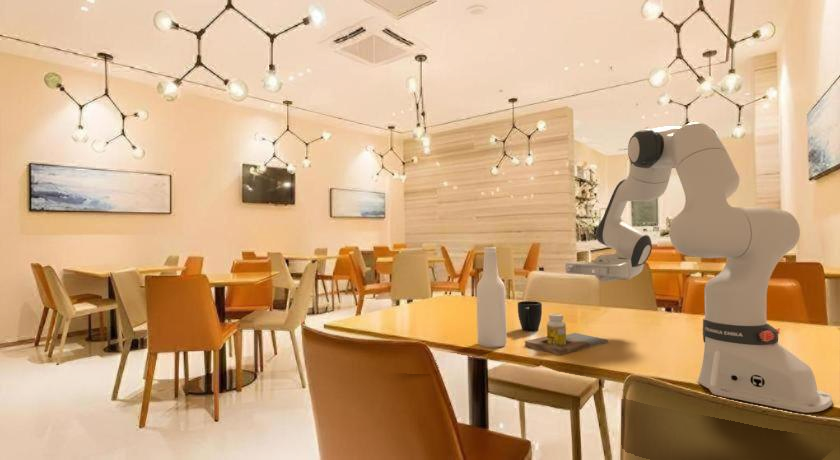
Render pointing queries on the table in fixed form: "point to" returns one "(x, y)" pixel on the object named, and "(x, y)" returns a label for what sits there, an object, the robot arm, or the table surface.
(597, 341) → the mat
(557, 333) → the supplement bottle
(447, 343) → the table surface
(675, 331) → the table surface
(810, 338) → the table surface
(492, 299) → the alcohol
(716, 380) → the robot arm
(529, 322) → the mug
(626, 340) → the table surface
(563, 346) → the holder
